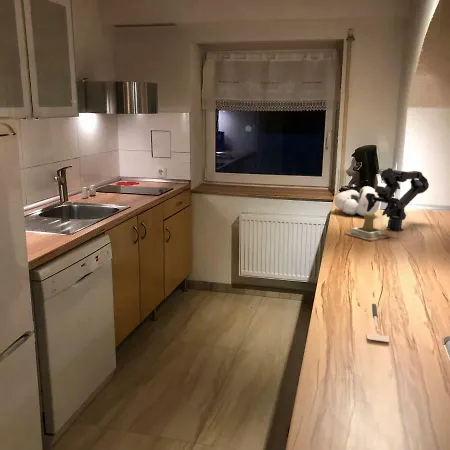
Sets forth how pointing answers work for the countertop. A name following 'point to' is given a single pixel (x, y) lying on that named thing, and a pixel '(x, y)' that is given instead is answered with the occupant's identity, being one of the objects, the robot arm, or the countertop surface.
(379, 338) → the spatula
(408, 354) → the countertop surface
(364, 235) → the shaker holder
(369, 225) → the cork
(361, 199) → the white lobed sculpture
